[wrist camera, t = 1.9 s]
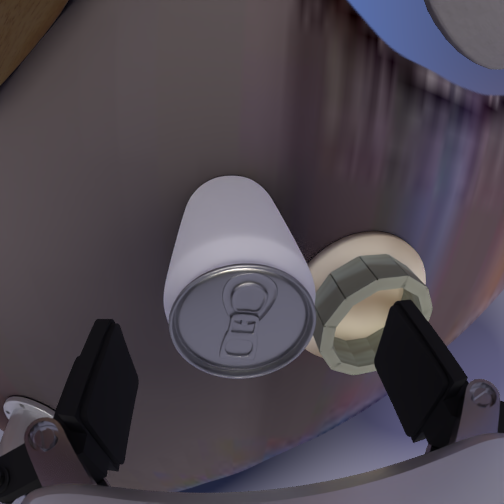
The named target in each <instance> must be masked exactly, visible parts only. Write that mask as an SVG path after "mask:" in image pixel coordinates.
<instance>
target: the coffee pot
mask: <svg viewBox="0 0 504 504" xmlns="http://www.w3.org/2000/svg"><path fill="white" fill-rule="evenodd" d="M424 2H425V4H426V7H427V10H428V12H429V14H430V15H431V17H432V19H433V21H434V23H435V25H436V26H437V27H438V29H439V30H440V31H441V33H442V34H443V35H444V37H445V38H446V40H447V41H448V42H449V43H450V44H451V45H452V46H453V47H454V48H455V49H456V50H457V51H458V52H459V53H461V54H462V55H464V56H465V57H466V58H468V59H469V60H471V61H472V62H474V63H476V64H478V65H481V66H483V67H486V68H488V69H503V68H504V0H424Z"/></svg>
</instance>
